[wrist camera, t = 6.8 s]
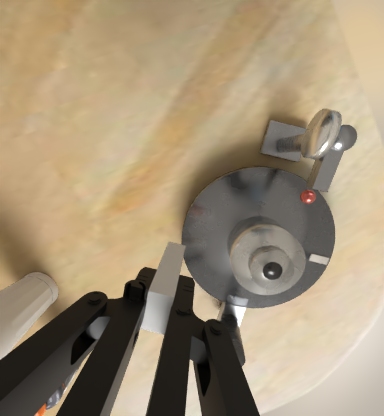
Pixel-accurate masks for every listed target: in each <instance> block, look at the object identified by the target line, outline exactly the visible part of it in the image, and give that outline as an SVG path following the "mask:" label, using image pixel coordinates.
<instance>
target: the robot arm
mask: <svg viewBox="0 0 384 416" xmlns="http://www.w3.org/2000/svg"><path fill="white" fill-rule="evenodd" d="M185 247H186V246H185V245H181V244H177V243H173V242H168V245H167V247H166V249H165V252H164V254H163V257H162V259H161V262H160V264H159V266H158V269H157V270H156V269H152V268H148V267H144V268H143V269H141V270H140V272H139V274H138V276H137V277H136V279H135V280H131V281H128V282H127V283H126V284H125V288H124V294H123V297H122V298H118V299H108V298H107V296H106V294H104V293H103V292H99V291H94V292H90V293H87V294H86V295H84V296H83V297H81V298H80V299H79V300H78V301H76V302H75V303H74V304H72V305H71V306H70V307H68V308H67V309H66V310H65V311H63V312H62V313H61V314H59V315H58V316H57V317H55V318H54V319H53V320H52V321H50V322H49V323H48V324H46V325H45V326H44V327H42V328H41V329H40V330H38V331H37V332H36V333H35V334H33V335H32V336H31V337H29V338H28V339H27V340H25V341H24V342H23V343H22V344H20V345H19V346H18V347H16V348H15V349H14V350H12V351H11V352H10V353H8V354H7V355H6V356H5V357H3V358H2V359H1V360H0V416H34V415H35V414H36V413H37V412H38V411H39V410H40V409H41V407H42V406H43V405H44V404H45V403H46V402H47V401H48V400H49V398H50V397H51V396H52V395H53V394H54V393H55V392H56V390H57V389H58V388H59V387H60V386H61V385H62V384H63V383H64V381H65V380H66V379H67V378H68V377H69V376H70V375H71V374H72V372H73V371H74V370H75V369H76V368H77V367H78V366H79V364H80V363H81V362H82V361H83V360H84V359H85V358H86V357H87V355H88V354H89V353H90V352H91V351H92V350H93V351H92V352H91V354H90V356H89V358H88V360H87V361H86V363H85V365H84V367H83V368H82V370H81V372H80V374H79V375H78V377H77V379H76V381H75V383H74V384H73V386H72V388H71V390H70V391H69V393H68V395H67V397H66V399H65V400H64V402H63V404H62V406H61V407H60V409H59V411H58V413H57V415H56V416H110V413H111V410H112V408H113V405H114V402H115V399H116V397H117V394H118V391H119V388H120V385H121V383H122V380H123V377H124V374H125V372H126V369H127V366H128V363H129V361H130V358H131V355H132V352H133V350H134V347H135V344H136V341H137V339H138V335H139V330H140V327H141V329H143V330H147V331H151V332H156V333H160V334H164V339H163V343H162V347H161V351H160V356H159V360H158V365H157V369H156V373H155V378H154V382H153V386H152V390H151V395H150V399H149V403H148V408H147V412H146V416H185V408H186V396H187V384H188V372H189V361H190V359H191V360H192V361H193V365H194V371H195V377H196V383H197V389H198V395H199V400H200V406H201V412H202V416H260V415H259V412H258V409H257V407H256V404H255V401H254V399H253V396H252V393H251V391H250V388H249V385H248V383H247V380H246V377H245V375H244V372H243V369H242V367H241V364H240V361H239V359H238V356H237V353H236V351H235V348H234V345H233V343H232V340H231V337H230V335H229V332H228V330H227V328H226V326H225V325H224V324H223V323H222V322H220V321H219V320H216V319H209V320H207V321H206V322H204V321H203V320H201V319H199V318H198V317H197V316H196V315H195V314H194V312H193V297H194V286H195V282H194V280H193V278H191V277H187V276H182V275H179V274H180V270H181V265H182V261H183V256H184V251H185Z"/></svg>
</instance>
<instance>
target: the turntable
mask: <svg viewBox="0 0 384 416" xmlns="http://www.w3.org/2000/svg"><path fill="white" fill-rule="evenodd" d="M306 184H307V181H306V180H304V179H303V178H301V177H299V176H297V175H295V174H293V173H290V172H287V171H284V170H281V169H275V168H269V167H247V168H242V169H238V170H234V171H232V172H229V173H226V174H224V175H222V176H220V177H219V178H217V179H215V180H214V181H213V182H211V183H210V184H208V185H207V186H206V187H205V188H204V189H203V190H202V191H201V192H200V193H199V195H198V196H197V197H196V198H195V200H194V201H193V203H192V205H191V206H190V209H189V211H188V213H187V216H186V219H185V222H184V226H183V231H182V245H185V246H186V247H185V251H184V260H185V263H186V265H187V268H188V270H189V272H190V273H191V275H192V277H193V278H194V279H195V281H196V282H197V283H198V284H199V285H200V286H201V287H202V288H203V289H204V290H205V291H206V292H207V293H209V294H210V295H211V296H213V297H215V298H217V299H218V300H220V301H222V305H221V308H220V311H219V314H218V317H217V320H219V321H220V322H222V323H223V324H224V325H225V326H226V328H227V330H228V332H229V335H230V337H231V340H232V343H233V345H234V348H235V351H236V353H237V356H238V359H239V361H240V364H241V367H242V366H243V365H244V363H245V355H244V350H243V345H242V340H241V335H240V330H239V326H240V323H241V320H242V317H243V314H244V311H245V309H246V308H265V307H271V306H275V305H279V304H282V303H285V302H287V301H290V300H292V299H294V298H296V297H298V296H299V295H301V294H302V293H304V292H305V291H306V290H308V289H309V288H310V287H311V286H312V285H313V284H314V283H315V282H316V281H317V280H318V279H319V278H320V276H321V275H322V273H323V272H324V271H325V269H326V267H327V265H328V263H329V261H330V258H331V256H332V253H333V248H334V244H335V225H334V220H333V216H332V213H331V211H330V208H329V206H328V204H327V203H326V201H325V199H324V198H323V196H322V195H321V194H320V193H319V192H318V190H316V189H312V188H309V187H306ZM304 190H312V191H313V192H314V193H315V195H316V199H315V200H314V202H312V203H309V204H306V203H303V202H302V201H301V199H300V194H301V193H302V192H303V191H304ZM255 216H264V217H268V218H271V219H273V220H275V221H277V222H278V223H279V224H280V225H282V226H283V227H284V228H285V229H286V230H287V231H288V232H289V233H290V234H291V235H292V236H294V237H295V238H296V239H297V240H298V241H299V243H300V244H301V246H302V247H303V249H304V252H305V257H306V264H305V269H304V272H303V274H302V276H301V278H300V279H299V280H298V281H297V283H296V284H295V285H293V286H292V287H291V288H289V289H288V290H286V291H284V292H281V293H278V294H274V295H260V294H255V293H252V292H250V291H248V290H246V289H245V288H244V287H242V286H241V285H240V284H239V283H238V281H237V280H236V278H235V276H234V274H233V271H232V267H231V263H230V258H229V254H228V249H227V241H228V237H229V235H230V233H231V231H232V230H233V228H234V227H235V226H236V225H237V224H238V223H240V222H241V221H243V220H245V219H247V218H250V217H255Z"/></svg>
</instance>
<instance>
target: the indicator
mask: <svg viewBox="0 0 384 416" xmlns="http://www.w3.org/2000/svg"><path fill="white" fill-rule="evenodd" d="M356 139H357V133H356V130H355V129H354V128H353V127H352V126H350V125H342V126H341V114H340V113H339V112H338V111H334V110H330V109H322V110H320V111H319V112H318V113H317V114H316V115H315V116H314V117H313V119H312V120H311V122H310V123H309V125H308V127H307V129H305V128H301V127H297V126H293V125H289V124H285V123H281V122H277V121H273V120H270V121H269V122H268V126H267V129H266V132H265V135H264V139H263V142H262V145H261V148H260V152H259V153H263V154H267V155H271V156H275V157H279V158H283V159H287V160H291V161H295V162H299V160H300V157H301V154H302V156H303V157H306V158H310V159H314V160H315V162H314V165H313V168H312V170H311V173H310V176H309V178H308V181H307V184H306V187H309V188H312V189H316V190H320V191H324V192H328V189H329V187H330V184H331V182H332V179H333V177H334V174H335V172H336V169H337V167H338V164H339V162H340V159H341V157H342V154H343V152H344V151H345V150H348V149H350V148H351V147H352V146H353V145H354V144H355V142H356ZM300 199H301V201H302V202H303V203H306V204H309V203H312V202H314V200H315V199H316V195H315V193H314V192H313V191H312V190H304V191H303V192H302V193H301V194H300Z"/></svg>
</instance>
